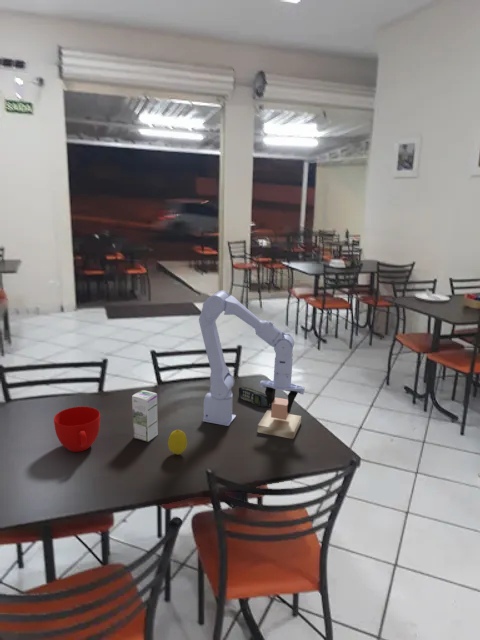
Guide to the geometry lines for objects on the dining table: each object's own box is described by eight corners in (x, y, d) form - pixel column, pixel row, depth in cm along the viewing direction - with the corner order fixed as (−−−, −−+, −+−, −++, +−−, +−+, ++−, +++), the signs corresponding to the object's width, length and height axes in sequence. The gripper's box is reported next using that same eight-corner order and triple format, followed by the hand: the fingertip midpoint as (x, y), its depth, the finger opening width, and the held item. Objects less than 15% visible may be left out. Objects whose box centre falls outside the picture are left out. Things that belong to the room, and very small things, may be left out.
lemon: (183, 460, 137) (183, 435, 135) (165, 458, 138) (165, 433, 136) (189, 451, 143) (189, 426, 141) (171, 448, 144) (171, 424, 142)
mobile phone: (237, 387, 180) (270, 397, 170) (242, 384, 182) (274, 394, 173) (237, 399, 181) (269, 410, 172) (242, 397, 183) (274, 407, 174)
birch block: (257, 433, 155) (257, 425, 155) (266, 418, 166) (267, 410, 166) (293, 440, 152) (294, 431, 151) (300, 424, 163) (301, 416, 162)
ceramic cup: (61, 468, 131) (58, 436, 129) (53, 440, 146) (51, 410, 143) (108, 458, 137) (107, 426, 135) (96, 432, 152) (95, 403, 149)
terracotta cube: (271, 417, 156) (271, 403, 155) (274, 411, 161) (275, 397, 159) (285, 419, 155) (286, 405, 153) (289, 413, 159) (290, 399, 158)
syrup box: (158, 434, 152) (158, 392, 148) (147, 442, 146) (146, 399, 143) (143, 430, 154) (142, 388, 150) (132, 438, 149) (131, 395, 145)
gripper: (257, 372, 153) (256, 411, 156) (302, 379, 148) (299, 419, 152) (263, 365, 159) (262, 403, 162) (306, 371, 155) (304, 410, 158)
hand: (280, 410), depth 157 cm, fingers closed on terracotta cube, 5 cm apart
